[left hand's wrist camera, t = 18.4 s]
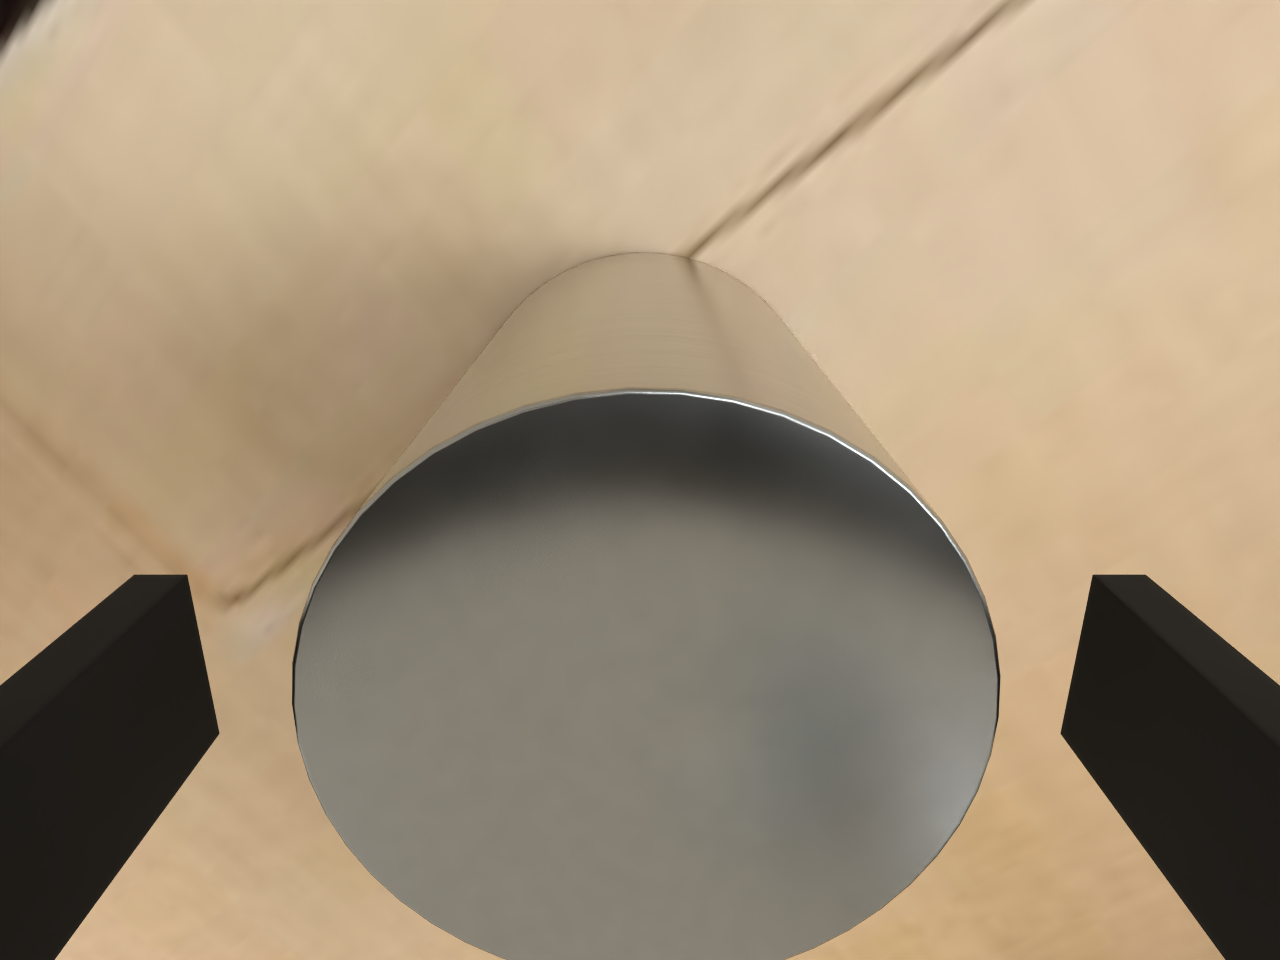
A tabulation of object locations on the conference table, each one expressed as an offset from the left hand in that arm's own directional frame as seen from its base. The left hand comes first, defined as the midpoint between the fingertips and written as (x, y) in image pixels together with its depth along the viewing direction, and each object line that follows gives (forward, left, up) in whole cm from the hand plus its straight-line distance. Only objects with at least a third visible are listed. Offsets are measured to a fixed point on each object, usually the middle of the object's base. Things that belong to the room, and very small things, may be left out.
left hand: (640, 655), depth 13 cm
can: (0, 0, -11) cm, 11 cm away
